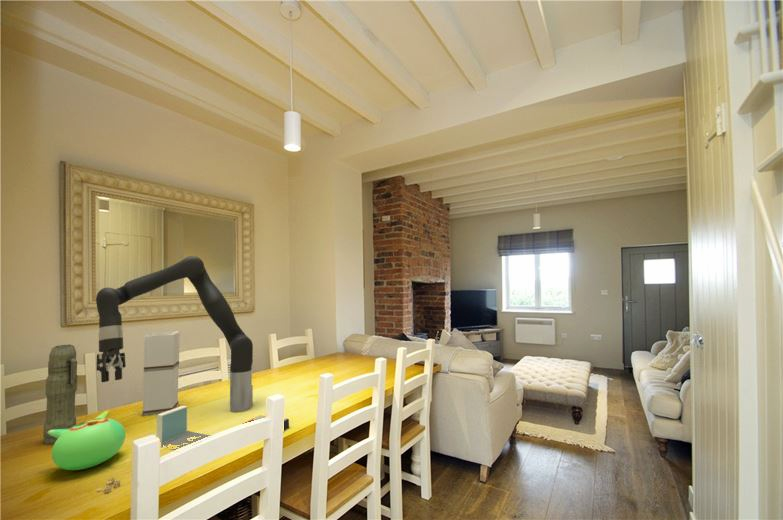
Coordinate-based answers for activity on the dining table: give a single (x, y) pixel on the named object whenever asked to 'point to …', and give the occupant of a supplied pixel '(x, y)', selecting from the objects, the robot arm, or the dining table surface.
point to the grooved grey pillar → (160, 372)
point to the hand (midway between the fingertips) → (112, 380)
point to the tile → (172, 424)
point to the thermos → (60, 390)
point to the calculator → (286, 421)
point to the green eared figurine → (87, 443)
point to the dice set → (109, 484)
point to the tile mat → (184, 439)
